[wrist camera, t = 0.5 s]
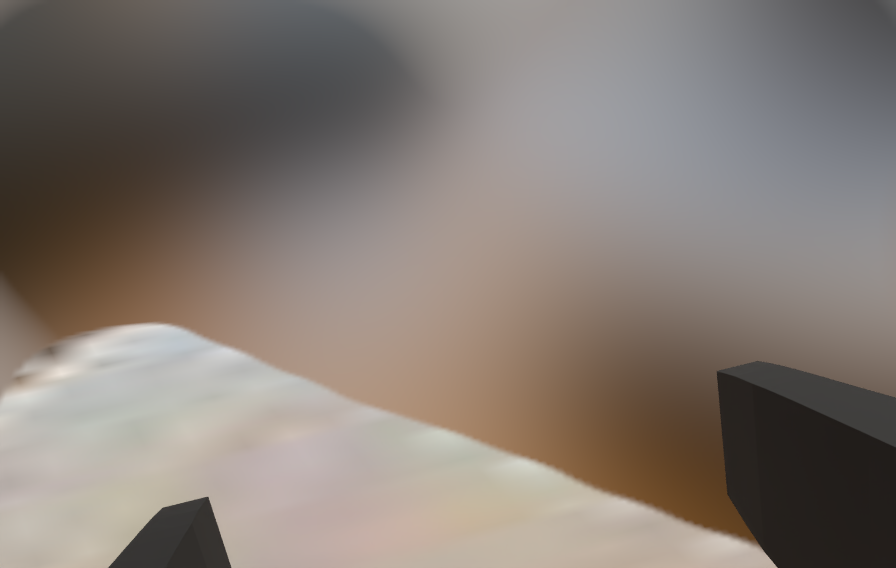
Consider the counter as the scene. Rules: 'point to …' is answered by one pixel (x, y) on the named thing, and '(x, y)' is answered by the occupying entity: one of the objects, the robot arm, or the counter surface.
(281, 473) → the counter surface
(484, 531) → the counter surface
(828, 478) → the robot arm
